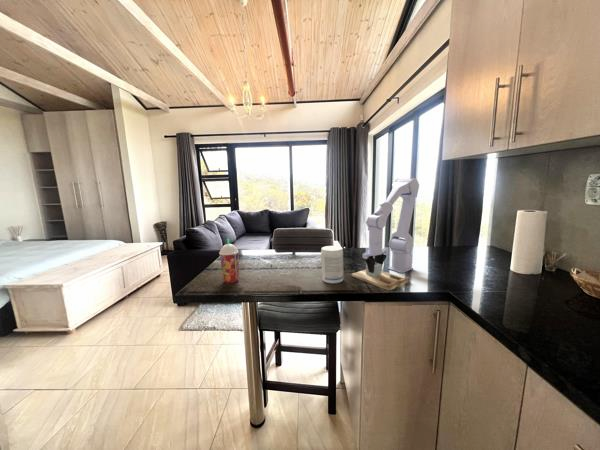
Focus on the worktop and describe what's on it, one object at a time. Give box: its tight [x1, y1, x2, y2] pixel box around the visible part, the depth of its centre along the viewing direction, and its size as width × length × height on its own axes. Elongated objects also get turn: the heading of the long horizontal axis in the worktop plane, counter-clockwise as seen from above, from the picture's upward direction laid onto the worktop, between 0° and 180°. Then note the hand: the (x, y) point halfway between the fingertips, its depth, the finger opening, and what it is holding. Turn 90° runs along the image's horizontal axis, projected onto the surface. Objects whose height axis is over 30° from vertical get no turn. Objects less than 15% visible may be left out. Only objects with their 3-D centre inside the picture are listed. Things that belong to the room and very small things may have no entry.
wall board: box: [351, 268, 411, 292], centre depth 107 cm, size 14×20×2 cm
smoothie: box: [218, 237, 240, 284], centre depth 108 cm, size 8×8×20 cm
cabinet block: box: [365, 262, 383, 277], centre depth 109 cm, size 4×5×6 cm
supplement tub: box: [320, 245, 344, 284], centre depth 107 cm, size 10×10×15 cm
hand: (374, 271), depth 109 cm, fingers closed on cabinet block, 4 cm apart
